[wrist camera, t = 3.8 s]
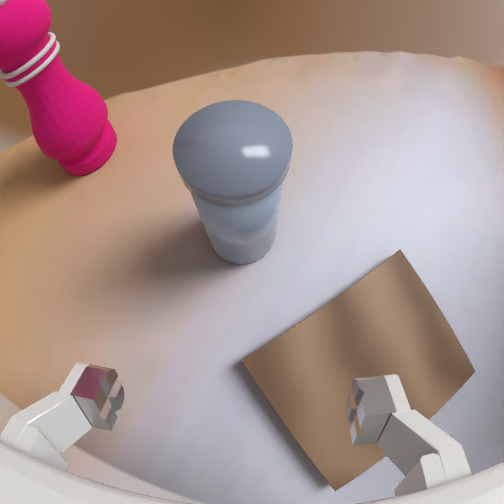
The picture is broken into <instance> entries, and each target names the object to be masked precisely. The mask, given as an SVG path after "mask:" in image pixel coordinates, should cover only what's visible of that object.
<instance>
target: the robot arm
mask: <svg viewBox="0 0 504 504" xmlns="http://www.w3.org/2000/svg"><path fill="white" fill-rule="evenodd" d="M117 377H118V375H117V373H116V371H115V369H111V368H105V367H100V366H96V365H91V364H85V363H81V362H79V363H77V364H75V366H74V367H73V369H72V371H71V372H70V374H69V375H68V377H67V379H66V380H65V382H64V383H63V385H62V387H61V388H60V390H59V392H57V391H55V392H53V393H51V394H50V395H48V396H46V397H45V398H43V399H41V400H39V401H38V402H36V403H34V404H32V405H31V406H29V407H27V408H25V409H24V410H22V411H20V412H19V413H17V414H15V415H13V416H12V417H11V419H10V420H9V422H8V424H7V425H6V427H5V429H4V430H3V432H2V434H1V436H0V504H191V503H184V502H178V501H172V500H167V499H161V498H156V497H151V496H147V495H142V494H138V493H134V492H130V491H126V490H122V489H118V488H115V487H112V486H108V485H104V484H101V483H98V482H95V481H92V480H89V479H86V478H83V477H80V476H78V475H75V474H72V473H69V472H67V468H68V462H67V461H66V460H65V459H64V458H63V457H62V456H61V455H60V454H61V453H62V452H63V451H65V450H66V449H67V448H68V447H70V446H71V445H72V444H73V443H74V442H76V441H77V440H78V439H79V438H81V437H82V436H83V435H84V434H85V433H86V432H88V431H89V430H90V429H91V428H92V427H97V428H101V429H106V430H111V431H112V429H113V426H114V424H115V421H116V419H117V415H116V411H117V410H119V409H120V408H121V407H122V405H123V402H124V389H123V386H122V384H121V383H120V382H118V381H117V380H116V379H117ZM351 387H352V392H351V393H350V394H349V395H348V399H347V416H348V420H349V421H350V422H351V423H352V425H351V428H350V433H351V439H352V444H353V445H363V444H373V443H377V446H378V447H379V448H380V449H381V450H382V451H383V452H384V453H385V454H386V455H387V456H388V458H389V459H390V460H391V461H392V462H393V463H394V464H395V465H396V466H397V467H398V468H399V469H400V470H401V471H402V473H403V474H404V475H405V476H406V477H405V478H404V479H403V480H402V482H401V483H400V484H399V485H398V486H397V487H396V488H395V494H396V497H392V498H387V499H382V500H377V501H371V502H365V503H358V504H504V461H503V462H501V463H499V464H496V465H494V466H492V467H489V468H487V469H485V470H482V471H480V472H477V473H474V474H472V473H471V470H470V467H469V464H468V462H467V459H466V456H465V453H464V451H463V448H462V445H461V444H460V443H458V442H457V441H456V440H454V439H453V438H452V437H450V436H449V435H448V434H446V433H445V432H444V431H443V430H441V429H440V428H439V427H437V426H436V425H435V424H433V423H432V422H431V421H429V420H428V419H427V418H425V417H424V416H423V415H421V414H420V413H419V412H418V411H416V410H411V408H410V406H409V403H408V400H407V397H406V394H405V392H404V389H403V386H402V384H401V381H400V378H399V376H398V375H397V374H393V375H384V376H373V377H363V378H354V380H353V381H352V385H351Z"/></svg>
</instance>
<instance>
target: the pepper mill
mask: <svg viewBox="0 0 504 504" xmlns="http://www.w3.org/2000/svg"><path fill="white" fill-rule="evenodd" d="M51 19H52V14H51V11H50V8H49V6H48V5H47V3H46V2H45V1H44V0H8V1H7V0H0V69H1V70H0V77H1V78H2V79H4V80H5V83H6V85H7V86H9V87H14V86H15V87H16V88H17V89H18V90H19V91H20V92H21V94H22V96H23V97H24V99H25V101H26V103H27V106H28V108H29V112H30V118H31V124H32V130H33V134H34V137H35V140H36V142H37V144H38V146H39V147H40V149H41V150H42V151H43V153H44V154H45V155H47V156H48V157H50V158H53V159H58V162H59V163H60V164H61V165H62V166H63V168H64V169H65V170H66V171H67V172H68V173H70V174H72V175H77V176H78V175H85V174H89V173H91V172H93V171H95V170H97V169H98V168H100V167H101V166H102V165H103V164H104V163H105V162H106V161H107V160H108V159H109V158H110V156H111V155H112V153H113V152H114V149H115V146H116V141H117V137H116V133H115V131H114V129H113V127H112V126H111V124H110V122H109V121H108V120H107V117H108V110H107V106H106V103H105V102H104V101H103V99H102V98H101V96H100V95H99V94H98V93H97V92H96V91H95V90H94V89H93V88H92V87H90V86H88V85H87V84H85V83H83V82H81V81H79V80H77V79H76V78H74V77H73V76H72V75H71V74H70V73H69V72H68V71H67V70H66V68H65V67H64V66H63V64H62V62H61V60H60V58H59V55H58V51H59V48H60V45H59V42H57V41H56V40H55V38H56V37H55V34H54V33H51V32H48V31H49V28H50V25H51Z"/></svg>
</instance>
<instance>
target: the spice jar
mask: <svg viewBox="0 0 504 504" xmlns="http://www.w3.org/2000/svg"><path fill="white" fill-rule="evenodd" d="M291 153H292V137H291V133H290V131H289V128H288V126H287V125H286V123H285V122H284V121H283V119H282V118H281V117H280V116H279V115H277V114H276V113H275V112H274V111H272V110H271V109H269V108H267V107H265V106H262V105H260V104H257V103H253V102H248V101H240V100H232V101H223V102H218V103H215V104H211V105H209V106H206V107H204V108H202V109H200V110H198V111H197V112H195V113H194V114H192V115H191V116H190V117H189V118H188V119H187V120H186V121H185V122H184V123H183V124H182V126H181V127H180V128H179V130H178V132H177V134H176V136H175V139H174V143H173V157H174V161H175V164H176V167H177V169H178V172H179V174H180V177H181V179H182V181H183V183H184V184H185V186H186V187H187V188H188V190H190V191H191V194H192V197H193V199H194V202H195V204H196V207H197V210H198V212H199V215H200V217H201V220H202V223H203V225H204V228H205V230H206V233H207V235H208V238H209V240H210V243H211V246H212V248H213V249H214V251H215V252H216V253H217V254H218V256H220V257H221V258H222V259H224V260H225V261H228V262H230V263H233V264H249V263H253V262H255V261H257V260H259V259H261V258H262V257H264V256H265V255H266V254H267V253H268V251H269V250H270V248H271V247H272V244H273V241H274V237H275V230H276V224H277V217H278V211H279V204H280V197H281V191H282V184H283V180H284V179H285V177H286V175H287V173H288V169H289V166H290V160H291Z"/></svg>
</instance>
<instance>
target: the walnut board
mask: <svg viewBox="0 0 504 504" xmlns="http://www.w3.org/2000/svg"><path fill="white" fill-rule="evenodd" d="M241 361H242V362H243V364H244V365H245V367H246V368H247V370H248V371H249V373H250V374H251V376H252V377H253V379H254V380H255V382H256V383H257V385H258V386H259V388H260V389H261V391H262V392H263V394H264V395H265V397H266V398H267V400H268V401H269V402H270V404H271V405H272V407H273V408H274V410H275V411H276V413H277V414H278V415H279V417H280V418H281V420H282V421H283V422H284V424H285V425H286V427H287V428H288V429H289V431H290V432H291V434H292V435H293V436H294V438H295V439H296V441H297V442H298V443H299V445H300V446H301V447H302V449H303V450H304V451H305V453H306V454H307V455H308V457H309V458H310V459H311V461H312V462H313V463H314V465H315V466H316V467H317V469H318V470H319V471H320V473H321V474H322V475H323V476H324V478H325V479H326V480H327V482H328V483H329V484H330V485H331V487H332V488H333V489H334V490H335V491H336V490H338V489H339V488H341V487H342V486H344V485H345V484H347V483H348V482H350V481H351V480H353V479H354V478H356V477H357V476H359V475H360V474H362V473H363V472H365V471H366V470H367V469H369V468H370V467H372V466H373V465H374V464H376V463H377V462H378V461H380V460H381V459H382V458H384V457H385V456H386V454H385V453H384V452H383V451H382V450H381V449H380V448H379V447H378V446H377V443H373V444H363V445H353V444H352V439H351V433H350V428H351V425H352V423H351V422H350V421H349V420H348V416H347V399H348V395H349V394H350V393H351V392H352V387H351V385H352V381H353V380H354V378H363V377H373V376H384V375H393V374H397V375H398V376H399V378H400V381H401V384H402V386H403V389H404V392H405V394H406V397H407V400H408V403H409V406H410V408H411V410H416V411H418V412H419V413H420V414H421V415H423V416H424V417H425V418H427V419H428V420H429V419H430V418H431V417H432V416H433V415H434V414H435V413H436V412H437V411H438V410H439V409H440V408H441V407H442V406H443V405H444V404H445V403H446V402H447V401H448V400H449V399H450V398H451V397H452V396H453V395H454V394H455V393H456V392H457V391H458V390H459V389H460V388H461V387H462V385H463V384H464V383H465V382H466V381H467V380H468V379H469V378H470V377H471V376H472V374H473V373H474V372H475V370H474V368H473V366H472V364H471V363H470V361H469V359H468V357H467V355H466V353H465V351H464V350H463V348H462V346H461V344H460V342H459V341H458V339H457V337H456V335H455V334H454V332H453V330H452V329H451V327H450V325H449V323H448V322H447V320H446V318H445V317H444V315H443V314H442V312H441V310H440V309H439V307H438V305H437V304H436V302H435V301H434V299H433V297H432V296H431V294H430V293H429V291H428V290H427V288H426V287H425V285H424V284H423V282H422V281H421V279H420V278H419V276H418V275H417V273H416V272H415V270H414V269H413V267H412V266H411V264H410V263H409V261H408V260H407V259H406V257H405V256H404V254H403V253H402V251H401V250H399V251H397V252H396V253H395V254H393V255H392V256H391V257H390V258H388V259H387V260H386V261H384V262H383V263H382V264H381V265H379V266H378V267H377V268H375V269H374V270H373V271H371V272H370V273H369V274H367V275H366V276H365V277H363V278H362V279H361V280H359V281H358V282H357V283H355V284H354V285H353V286H351V287H350V288H349V289H347V290H346V291H344V292H343V293H342V294H340V295H339V296H337V297H336V298H335V299H333V300H332V301H330V302H329V303H328V304H326V305H325V306H323V307H322V308H320V309H319V310H318V311H316V312H315V313H313V314H312V315H310V316H309V317H307V318H306V319H304V320H303V321H301V322H300V323H298V324H297V325H295V326H294V327H292V328H291V329H289V330H288V331H286V332H285V333H283V334H282V335H280V336H279V337H277V338H276V339H274V340H273V341H271V342H270V343H268V344H266V345H265V346H263V347H262V348H260V349H258V350H257V351H255V352H254V353H252V354H250V355H249V356H247V357H246V358H244V359H242V360H241Z"/></svg>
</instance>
